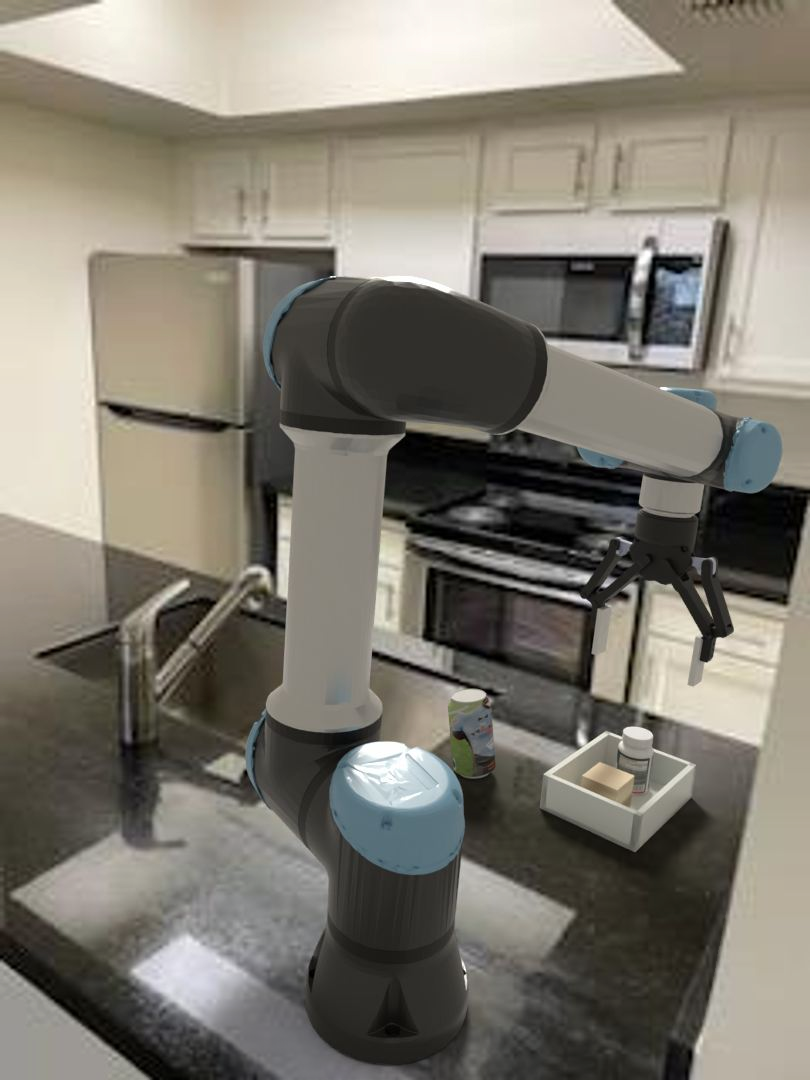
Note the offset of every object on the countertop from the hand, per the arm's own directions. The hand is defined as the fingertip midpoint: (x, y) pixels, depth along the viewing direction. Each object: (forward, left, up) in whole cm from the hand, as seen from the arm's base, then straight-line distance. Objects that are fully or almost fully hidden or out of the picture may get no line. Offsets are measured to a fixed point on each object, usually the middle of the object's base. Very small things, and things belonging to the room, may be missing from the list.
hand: (644, 667), depth 112 cm
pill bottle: (0, 0, -18) cm, 18 cm away
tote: (-4, 0, -19) cm, 19 cm away
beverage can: (-12, +19, -19) cm, 29 cm away
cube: (-7, 0, -18) cm, 19 cm away
